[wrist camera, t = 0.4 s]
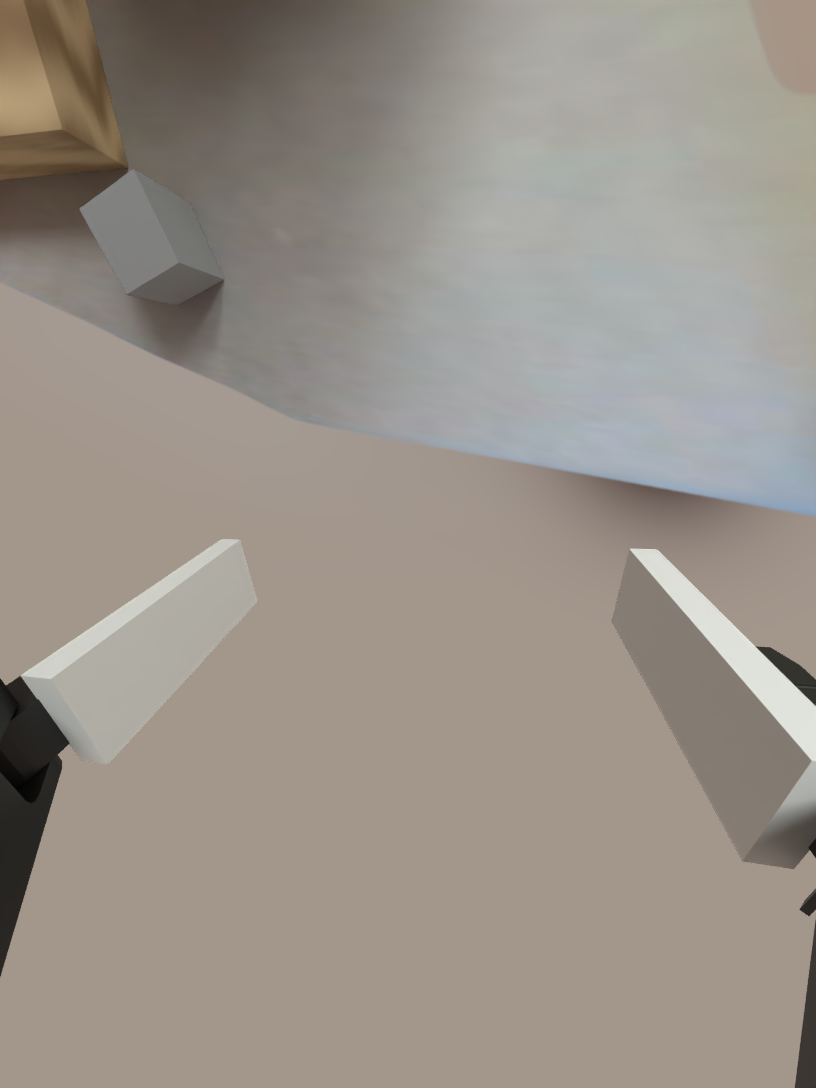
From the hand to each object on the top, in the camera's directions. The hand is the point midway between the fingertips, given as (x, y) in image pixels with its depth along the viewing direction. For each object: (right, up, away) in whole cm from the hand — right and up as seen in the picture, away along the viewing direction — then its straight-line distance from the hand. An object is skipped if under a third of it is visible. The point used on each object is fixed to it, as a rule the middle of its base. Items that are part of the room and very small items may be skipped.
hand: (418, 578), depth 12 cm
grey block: (-22, +28, +21) cm, 41 cm away
